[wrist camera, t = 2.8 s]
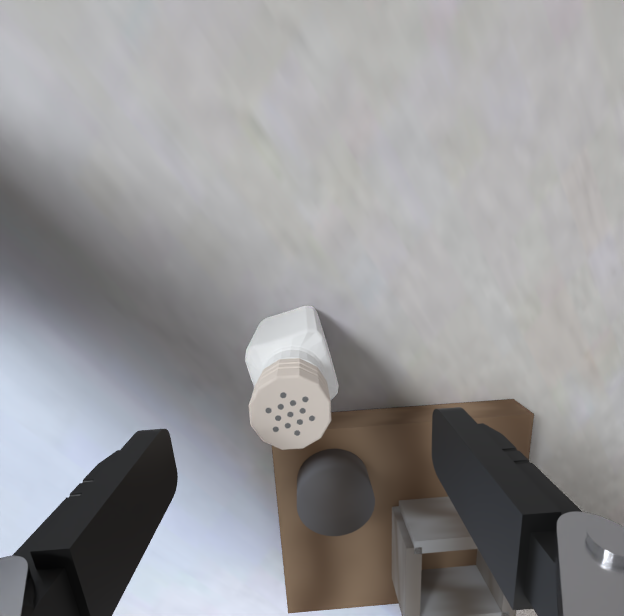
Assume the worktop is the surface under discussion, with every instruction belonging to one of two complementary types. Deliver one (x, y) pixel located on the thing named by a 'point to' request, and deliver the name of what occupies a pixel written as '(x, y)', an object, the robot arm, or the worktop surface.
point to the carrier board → (385, 516)
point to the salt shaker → (291, 379)
